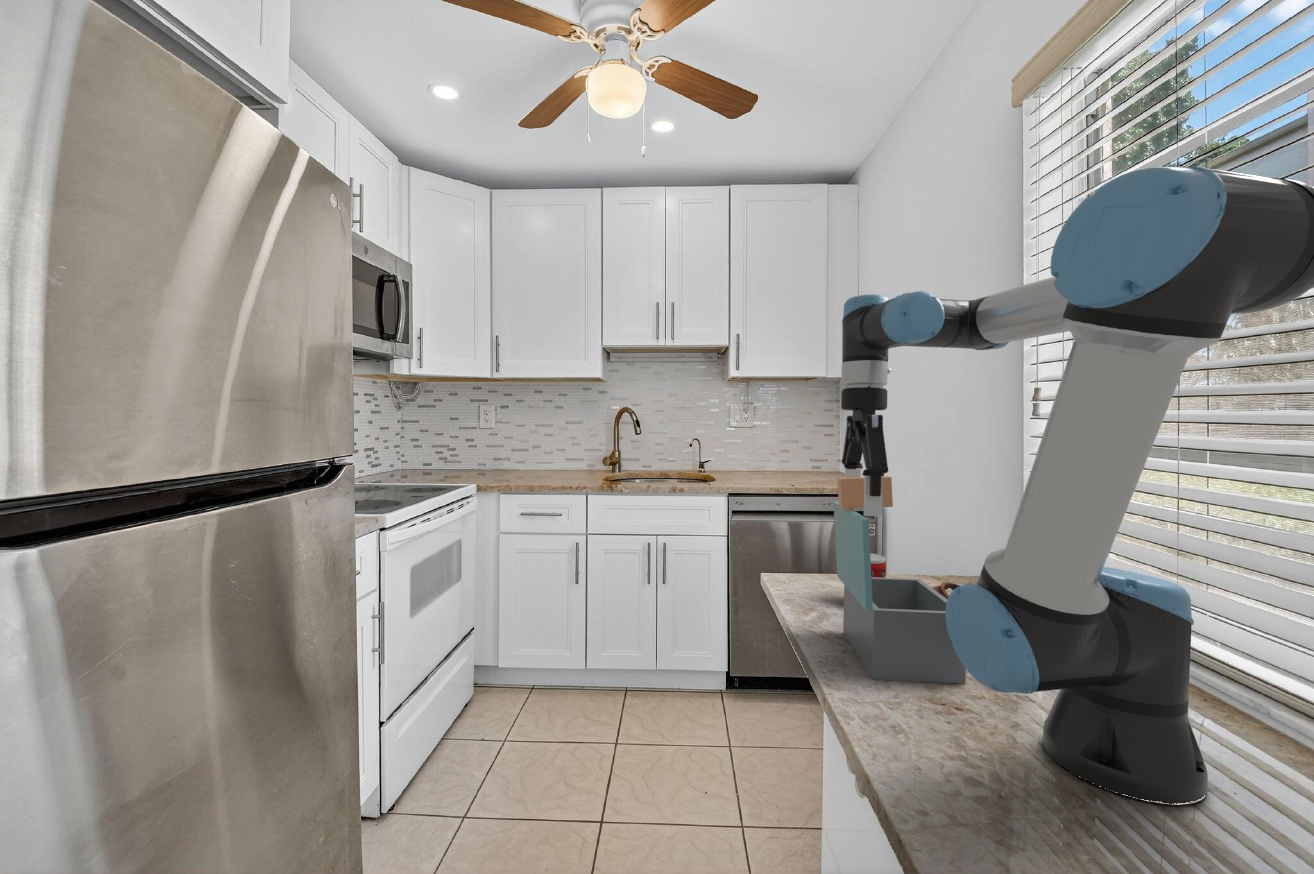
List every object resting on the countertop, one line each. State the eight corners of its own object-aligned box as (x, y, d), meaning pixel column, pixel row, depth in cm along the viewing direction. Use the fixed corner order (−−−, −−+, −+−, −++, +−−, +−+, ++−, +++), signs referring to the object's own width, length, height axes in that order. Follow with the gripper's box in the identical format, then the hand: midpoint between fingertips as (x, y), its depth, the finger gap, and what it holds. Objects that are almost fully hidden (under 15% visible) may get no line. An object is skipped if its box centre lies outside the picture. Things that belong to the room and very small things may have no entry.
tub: (965, 684, 89) (967, 614, 88) (872, 679, 90) (874, 610, 90) (918, 636, 109) (919, 579, 108) (843, 632, 110) (844, 576, 110)
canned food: (840, 601, 129) (841, 553, 129) (869, 598, 132) (870, 551, 132) (861, 612, 122) (862, 561, 122) (892, 609, 124) (893, 559, 124)
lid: (910, 482, 88) (853, 484, 89) (915, 609, 89) (859, 611, 90) (872, 471, 109) (827, 473, 110) (877, 574, 109) (831, 576, 110)
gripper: (912, 382, 86) (908, 522, 86) (866, 391, 111) (864, 500, 111) (861, 382, 87) (858, 521, 87) (827, 391, 111) (825, 499, 112)
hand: (861, 509), depth 99 cm, fingers open, 13 cm apart
